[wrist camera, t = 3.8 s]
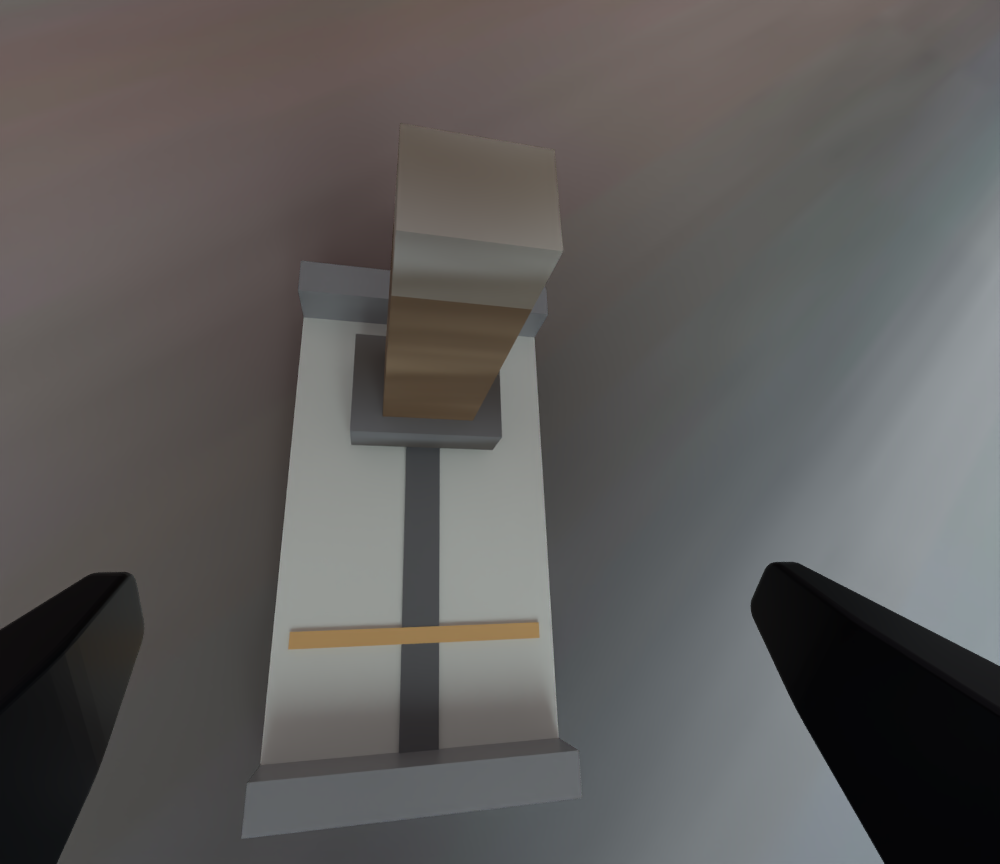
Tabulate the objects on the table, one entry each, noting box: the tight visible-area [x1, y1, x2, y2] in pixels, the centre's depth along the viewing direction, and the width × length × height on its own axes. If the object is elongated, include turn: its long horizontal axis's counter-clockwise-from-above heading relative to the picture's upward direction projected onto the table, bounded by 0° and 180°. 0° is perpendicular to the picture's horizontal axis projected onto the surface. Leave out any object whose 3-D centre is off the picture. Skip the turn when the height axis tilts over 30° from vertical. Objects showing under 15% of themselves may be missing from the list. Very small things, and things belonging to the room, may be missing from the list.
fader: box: [350, 123, 563, 450], centre depth 15 cm, size 4×5×11 cm
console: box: [241, 261, 582, 839], centre depth 19 cm, size 17×9×4 cm, turn 1°
